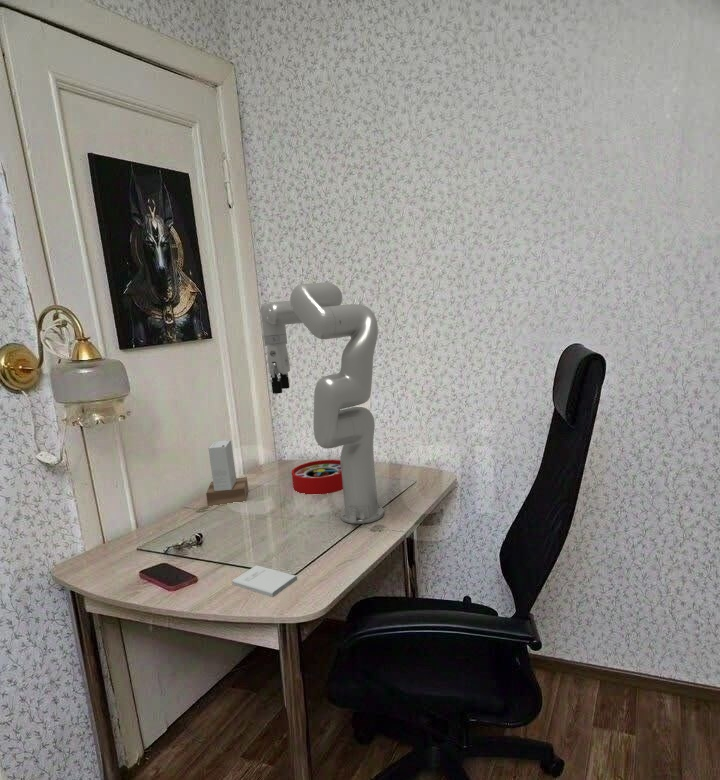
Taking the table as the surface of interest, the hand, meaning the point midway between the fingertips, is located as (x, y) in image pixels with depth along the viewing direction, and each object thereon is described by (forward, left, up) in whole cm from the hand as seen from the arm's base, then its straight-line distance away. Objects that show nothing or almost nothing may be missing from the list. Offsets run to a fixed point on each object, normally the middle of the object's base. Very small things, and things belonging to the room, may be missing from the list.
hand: (281, 390), depth 183 cm
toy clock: (-1, -11, -34) cm, 36 cm away
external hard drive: (-66, -10, -34) cm, 75 cm away
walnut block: (-11, +19, -34) cm, 40 cm away
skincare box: (-13, +18, -29) cm, 37 cm away
